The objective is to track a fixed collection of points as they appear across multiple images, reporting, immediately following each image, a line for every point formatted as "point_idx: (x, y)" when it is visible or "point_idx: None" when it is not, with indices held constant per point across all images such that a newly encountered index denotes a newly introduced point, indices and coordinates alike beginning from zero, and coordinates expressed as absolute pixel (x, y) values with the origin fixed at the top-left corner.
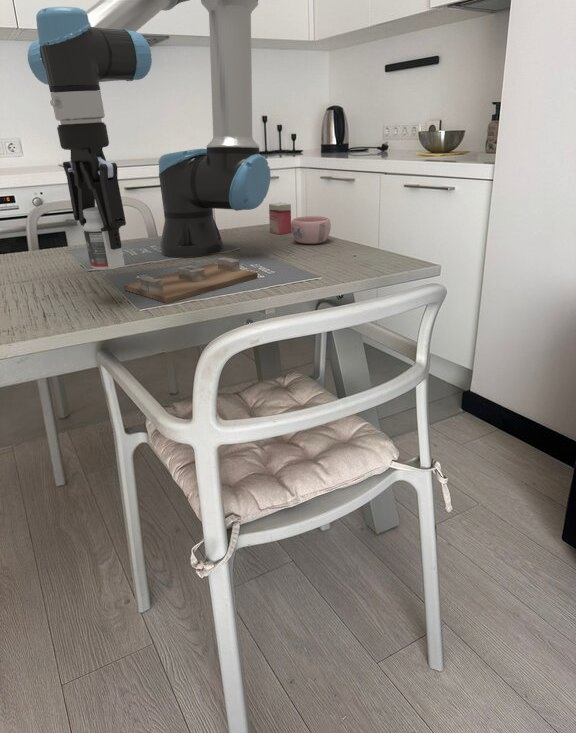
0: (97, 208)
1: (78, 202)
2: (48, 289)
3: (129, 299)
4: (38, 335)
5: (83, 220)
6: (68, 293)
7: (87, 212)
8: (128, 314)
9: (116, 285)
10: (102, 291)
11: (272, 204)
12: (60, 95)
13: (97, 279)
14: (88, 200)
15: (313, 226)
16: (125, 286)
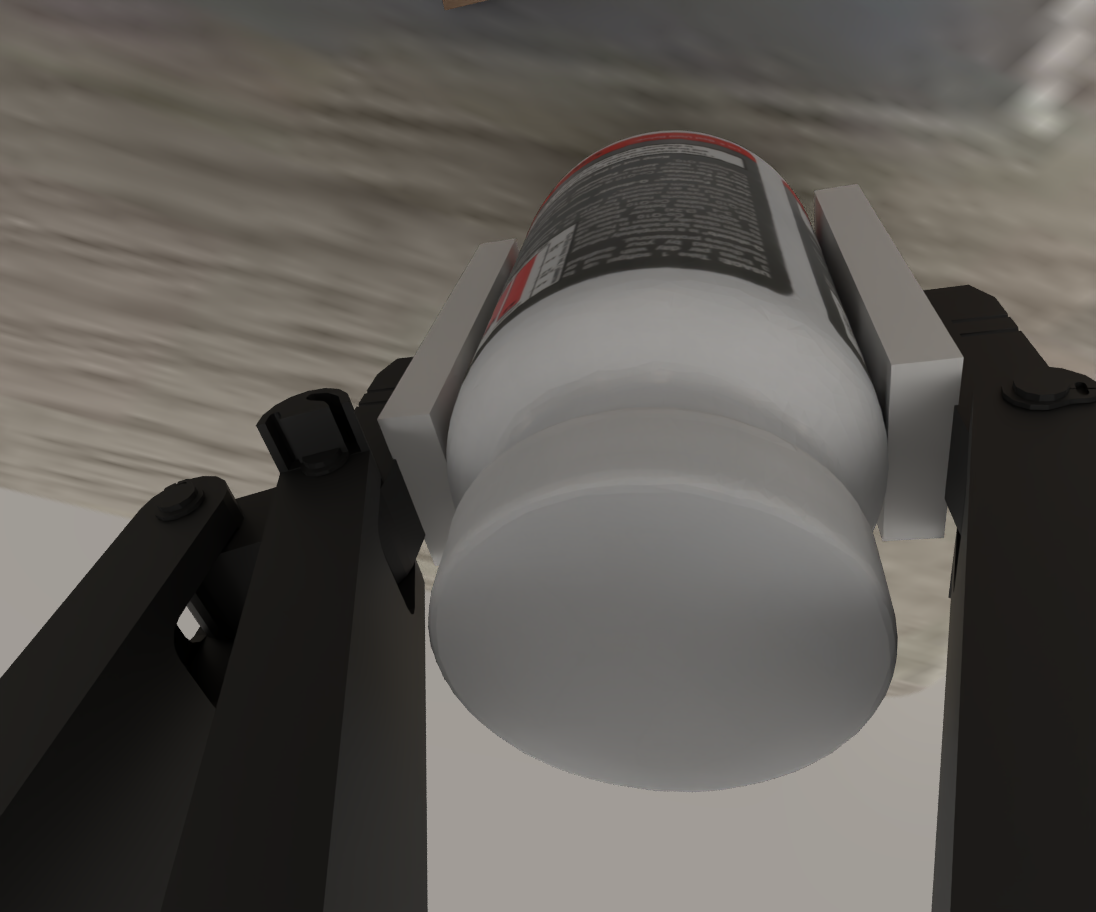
0: (593, 640)
1: (193, 758)
2: (184, 380)
3: (720, 78)
4: (921, 623)
5: (421, 603)
6: (325, 330)
7: (740, 776)
8: (1036, 225)
9: (284, 6)
10: (394, 156)
11: None
12: None
13: (47, 64)
14: (387, 772)
15: None
16: (466, 4)
